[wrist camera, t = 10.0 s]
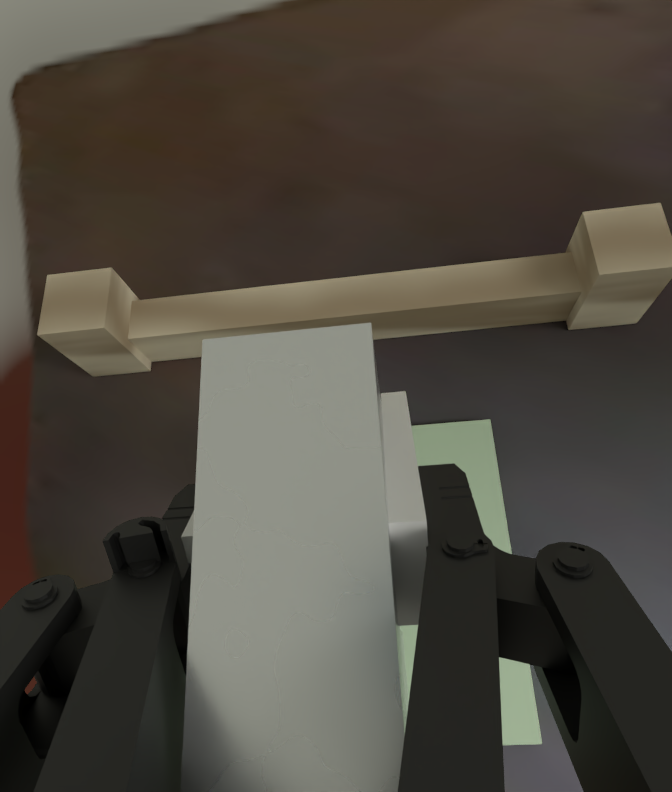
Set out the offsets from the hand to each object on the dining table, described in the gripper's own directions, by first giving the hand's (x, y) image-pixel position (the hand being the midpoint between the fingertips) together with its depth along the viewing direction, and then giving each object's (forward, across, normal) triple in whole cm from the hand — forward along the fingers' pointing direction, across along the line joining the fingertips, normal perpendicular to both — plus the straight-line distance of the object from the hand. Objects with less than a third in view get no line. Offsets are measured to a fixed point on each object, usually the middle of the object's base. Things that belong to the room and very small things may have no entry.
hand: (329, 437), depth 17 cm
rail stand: (+11, 0, +1) cm, 11 cm away
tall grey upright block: (0, 0, -6) cm, 6 cm away
